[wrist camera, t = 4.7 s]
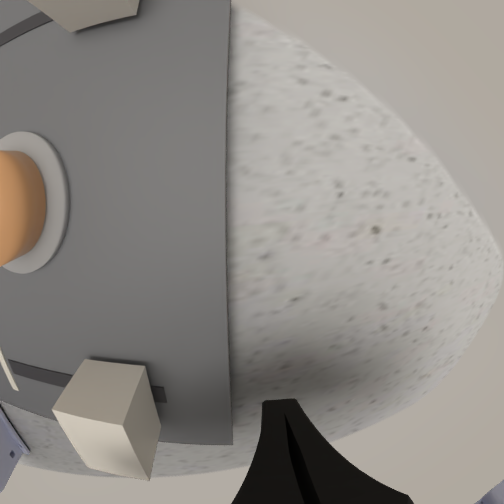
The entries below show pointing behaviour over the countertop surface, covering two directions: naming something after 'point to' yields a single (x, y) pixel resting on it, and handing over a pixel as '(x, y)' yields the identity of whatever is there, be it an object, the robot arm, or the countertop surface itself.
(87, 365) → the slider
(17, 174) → the button
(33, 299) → the panel
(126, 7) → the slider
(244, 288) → the countertop surface
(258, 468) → the robot arm
